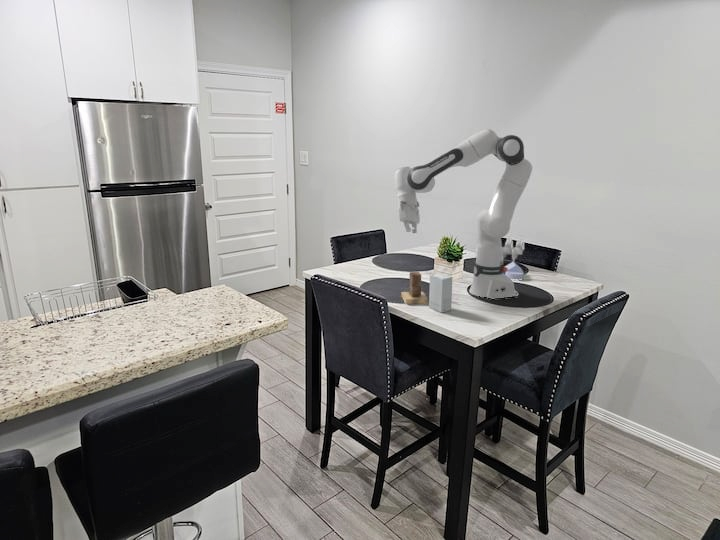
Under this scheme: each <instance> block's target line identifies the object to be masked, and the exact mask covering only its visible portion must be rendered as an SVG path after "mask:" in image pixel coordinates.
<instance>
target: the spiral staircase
mask: <svg viewBox="0 0 720 540" xmlns="http://www.w3.org/2000/svg"><path fill="white" fill-rule="evenodd" d="M502 243H503V242H502V241H501V244H502ZM524 250H525V242H524V237H523V236H519V237H518V238H517V241H516V244H515V247H514V241H513V240H512V236H511V235H508V237H506V241H505V244H504V246H502V255H501V264H500V265H503V266H504V261H505V259H506V258H507V256H508V255H511V263H512V262H514V263H516V262H515V261H516V259H518V256H519V255H520V256H523V252H524ZM475 252H476V253H475V254H476V255H477V246H476V250H475Z"/></svg>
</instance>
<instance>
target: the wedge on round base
mask: <svg viewBox="0 0 720 540" xmlns="http://www.w3.org/2000/svg"><path fill="white" fill-rule="evenodd" d="M504 267H506V268H508V271H507V272H505V271H504V274H505V275H506V276H507V277H509V278H510V279H518V280H519V279H524V271H523V269H522V267H520V266H519V265H518V264H517V263H516V262H512V261H511V262H510V263H508V264H506V265H504Z"/></svg>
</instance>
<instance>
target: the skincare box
mask: <svg viewBox="0 0 720 540" xmlns="http://www.w3.org/2000/svg"><path fill="white" fill-rule="evenodd" d="M428 291H429V295H428V299H429V303H428V308H430V309H432V310H434V311H437V312H438V313H441V314H443V313H447V312H450V311H451V310H452V298H453V276H451V275H447V274H443V273H440V272H438V273H437V272H436V273H433V274H430V275H429V290H428Z"/></svg>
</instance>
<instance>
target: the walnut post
mask: <svg viewBox="0 0 720 540" xmlns="http://www.w3.org/2000/svg"><path fill="white" fill-rule="evenodd" d="M408 289H409V291H408V292H409V294H410V295H411V296H412V297H416V296H421V292H422V274H421V273H420V271H414V272H413V271H411V272H409V288H408Z"/></svg>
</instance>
